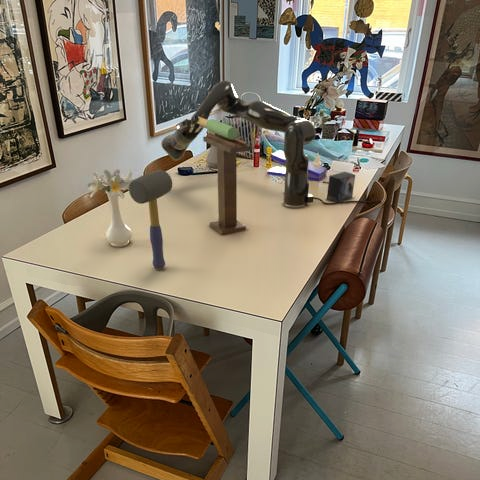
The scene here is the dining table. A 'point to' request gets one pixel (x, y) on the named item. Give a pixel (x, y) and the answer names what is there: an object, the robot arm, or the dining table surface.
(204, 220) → the dining table surface
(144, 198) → the rubber mallet
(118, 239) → the flower vase
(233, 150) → the stand
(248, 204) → the dining table surface
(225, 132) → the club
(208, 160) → the coffee pot
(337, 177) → the small box
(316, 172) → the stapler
